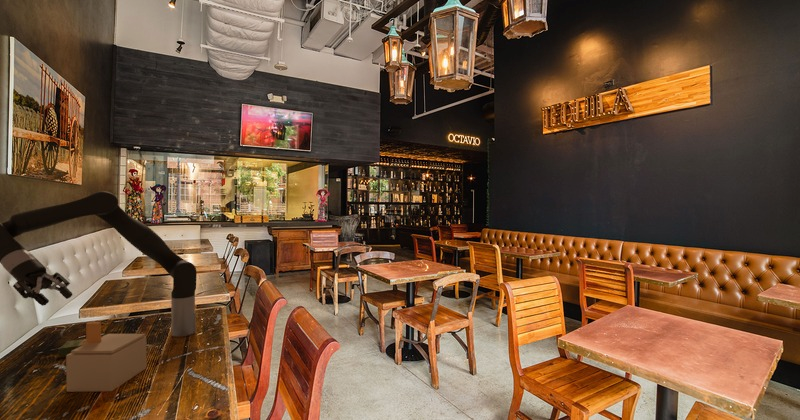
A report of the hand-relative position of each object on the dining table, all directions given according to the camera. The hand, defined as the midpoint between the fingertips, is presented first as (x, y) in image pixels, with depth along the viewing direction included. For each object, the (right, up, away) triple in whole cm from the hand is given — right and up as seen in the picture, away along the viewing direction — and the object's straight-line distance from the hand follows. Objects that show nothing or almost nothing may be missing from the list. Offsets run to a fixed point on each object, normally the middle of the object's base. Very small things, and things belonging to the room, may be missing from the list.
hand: (58, 300), depth 120 cm
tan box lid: (+17, -15, +1) cm, 22 cm away
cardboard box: (+16, -27, +1) cm, 32 cm away
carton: (-11, -27, +24) cm, 38 cm away
